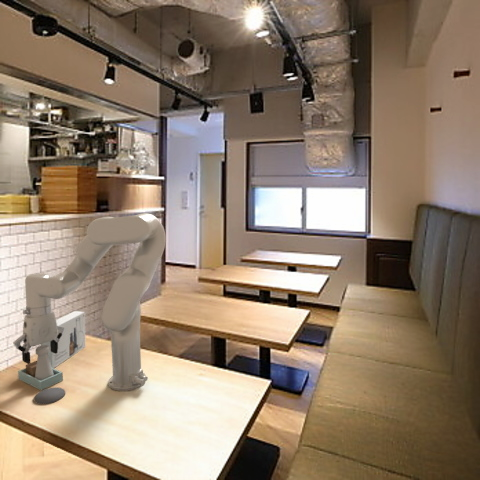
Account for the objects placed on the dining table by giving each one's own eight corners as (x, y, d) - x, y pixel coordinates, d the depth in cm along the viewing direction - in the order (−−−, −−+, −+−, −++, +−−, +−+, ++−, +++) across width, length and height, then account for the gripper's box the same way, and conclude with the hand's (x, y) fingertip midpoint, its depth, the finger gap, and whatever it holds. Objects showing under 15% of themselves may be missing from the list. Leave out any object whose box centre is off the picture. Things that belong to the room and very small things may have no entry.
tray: (63, 380, 133) (62, 372, 133) (40, 390, 126) (40, 382, 126) (40, 370, 140) (40, 362, 140) (18, 379, 134) (18, 371, 133)
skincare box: (53, 370, 141) (50, 329, 138) (40, 368, 142) (38, 328, 140) (87, 346, 161) (85, 311, 159) (75, 345, 162) (73, 310, 160)
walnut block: (43, 376, 136) (42, 363, 135) (32, 381, 133) (31, 367, 132) (37, 373, 138) (36, 360, 137) (26, 378, 135) (25, 364, 134)
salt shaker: (40, 377, 135) (37, 343, 133) (56, 377, 135) (54, 342, 133) (32, 386, 129) (29, 350, 127) (49, 385, 129) (47, 349, 128)
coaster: (70, 394, 124) (70, 392, 124) (44, 407, 117) (44, 405, 117) (54, 386, 129) (54, 384, 129) (28, 398, 121) (28, 397, 121)
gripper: (19, 319, 119) (21, 370, 122) (68, 305, 134) (70, 351, 136) (6, 314, 123) (9, 363, 126) (56, 301, 138) (57, 346, 140)
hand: (40, 357), depth 131 cm, fingers open, 9 cm apart
